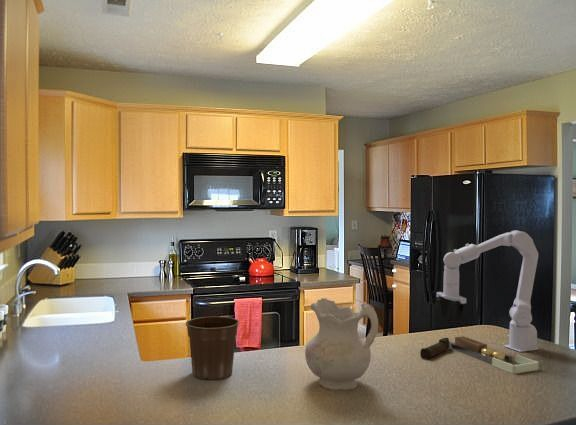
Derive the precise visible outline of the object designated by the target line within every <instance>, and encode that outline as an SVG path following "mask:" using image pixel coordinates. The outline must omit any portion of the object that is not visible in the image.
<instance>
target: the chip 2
mask: <svg viewBox="0 0 576 425" xmlns="http://www.w3.org/2000/svg"><path fill="white" fill-rule="evenodd" d="M505 354H506V353H505V352H504V351H500V350H496V351H493V352H492V357H493V358H496V359H498V360H501V361H504V362H506V361H505Z"/></svg>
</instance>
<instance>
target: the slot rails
mask: <svg viewBox="0 0 576 425" xmlns="http://www.w3.org/2000/svg"><path fill="white" fill-rule="evenodd" d="M487 348H489V347H488V346H487ZM449 349H452V350H454V351H457V352H459V353H461V354H465V355H468V356H470V357H473V358H475V359H478V360H481V361H484V362H486V363H489V364H490V365H492V358H493V357H491V356H488V355H485V354H483V353H480V352H477V351H474V350H472V349H469V348H466V347H464V346H461V345H458V344H455V342H453V341H451V340H449ZM493 350H494V351H497V350H496V349H493ZM505 362H507V363H510V362H513V356H512V355H510V354H508V353H505Z"/></svg>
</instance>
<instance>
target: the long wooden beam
mask: <svg viewBox="0 0 576 425" xmlns="http://www.w3.org/2000/svg"><path fill="white" fill-rule="evenodd" d="M454 343H455V344H458V345H461V346H464V347H466V348H469V349H472V350H474V351H477V352H480V353H481V348H487V347H488V344H486V343H484V342H481V341H478V340H475V339H472V338H469V337H466V336H464V335H462V336H456V337H454Z"/></svg>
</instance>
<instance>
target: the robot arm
mask: <svg viewBox="0 0 576 425" xmlns="http://www.w3.org/2000/svg"><path fill="white" fill-rule="evenodd" d="M500 246H504V247H505V246H506V247H511V246H512V247H513V248H514V249H516V250H517V251H518V252H519V254H520V255H521V256H522V263H521V268H520V272H519V278H518V285H517V290H516V294H515V295H516V297H515V298H514V300H513V304H512V306H511V307H510V309H509V312H508V313H509V314H508V315H509V317H510V318H511V320H510V322H509V336H508V337H509V338H508V339H509V340H508V341H509V342H508V344H504V345H503V347H504V348H506V349H510V350H512V351H517V352H520V353H522V352H529V351H530V352H531V351H536V350H537V351H538V350H539V347H538V346H537V344H538V331H537V329H536V326H534V325H533V324H531V323H532V321H533V316H532V312H531V311H532V310H531V309H532V306H531V298H532V294H533V287H534V282H535V277H536V273H537V272H536V270H537V266H538V262H539V261H538V260H539V252H538V250H537V247H536V245H535V243H534V240H533V238H532V237H531V236H530V235H529V234H528V233H527V232H525V231H520V230H517V229H515V230H511V231H510V232H509V231H508V232H504V233H502V234H498V235H497V236H494V237H492V238H490V239H488V240H485V241H483V242H481V243H479V244H473V243H471V244H469V243H466V244H465V246H463V247H460V248H459V249H456V248H455V249H453V251H451V252H447V253H446V254H445V255H444V257H443V259H442V260H443V263H444V266H443V269H444V271H443V286H442V287H443V288H442V289H443V290H442V291H443V292H442V291H437V292H436V298H435V302H436V303H437V306H438V308H439V311H440V316H441V318H447V317H448V309H449V305H451V307H452V310H453V321H454V322H460V321H461V318H462V315H463V314H462V313H463V312H464V310H465V308H466V306H467V298H466V297H464V296H462V295H460V266H461V264H465V263H469V262H471V261H473V260H476V259H478V258H479V257H480V255H481V253H484V252H487V251H490V250H492V249H495V248H497V247H500ZM450 301H451V304H450ZM452 301H453V302H452Z"/></svg>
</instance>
